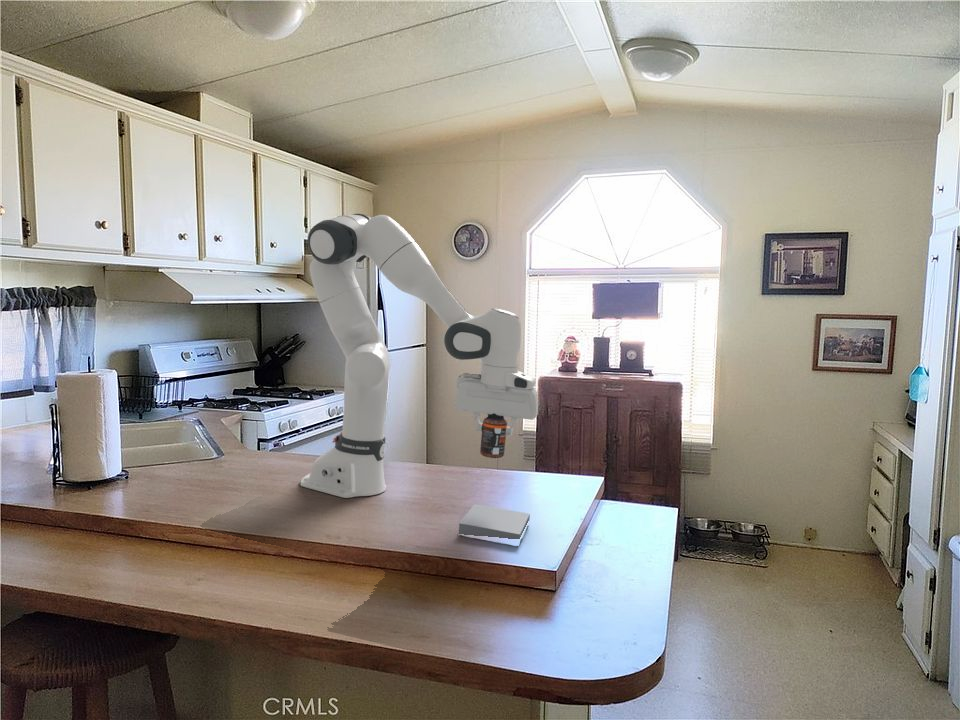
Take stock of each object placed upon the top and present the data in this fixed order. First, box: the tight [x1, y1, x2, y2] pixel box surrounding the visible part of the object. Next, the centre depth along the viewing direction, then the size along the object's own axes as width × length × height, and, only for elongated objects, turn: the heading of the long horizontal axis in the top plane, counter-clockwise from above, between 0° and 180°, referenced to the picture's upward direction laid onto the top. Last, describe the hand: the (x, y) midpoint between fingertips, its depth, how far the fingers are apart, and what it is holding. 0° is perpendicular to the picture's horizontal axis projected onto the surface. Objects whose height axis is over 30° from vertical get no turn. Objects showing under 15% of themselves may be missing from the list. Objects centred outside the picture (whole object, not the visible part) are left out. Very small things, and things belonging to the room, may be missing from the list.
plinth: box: [457, 503, 531, 539], centre depth 151 cm, size 14×14×3 cm
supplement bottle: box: [480, 413, 508, 459], centre depth 156 cm, size 6×6×11 cm
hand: (494, 432), depth 156 cm, fingers closed on supplement bottle, 6 cm apart
